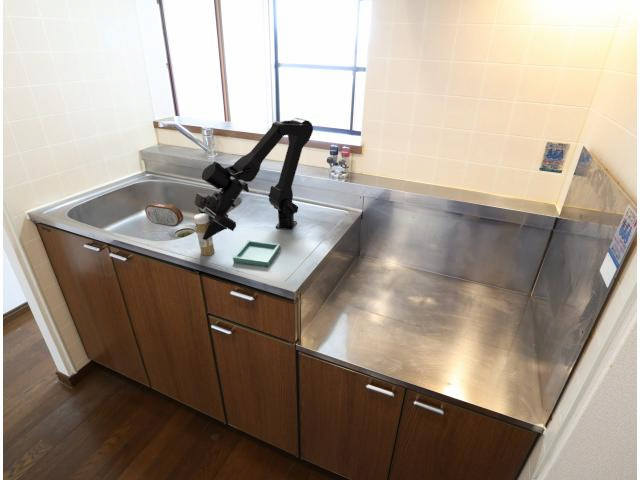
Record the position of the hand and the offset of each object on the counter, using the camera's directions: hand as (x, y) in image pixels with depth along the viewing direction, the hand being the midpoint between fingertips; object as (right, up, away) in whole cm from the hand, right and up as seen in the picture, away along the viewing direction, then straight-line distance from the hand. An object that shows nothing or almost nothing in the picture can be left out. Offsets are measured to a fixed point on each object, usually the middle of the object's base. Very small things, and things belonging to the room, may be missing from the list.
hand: (200, 236), depth 119 cm
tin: (-20, +5, +22) cm, 31 cm away
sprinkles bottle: (+1, -6, +4) cm, 7 cm away
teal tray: (+18, -6, +2) cm, 19 cm away
